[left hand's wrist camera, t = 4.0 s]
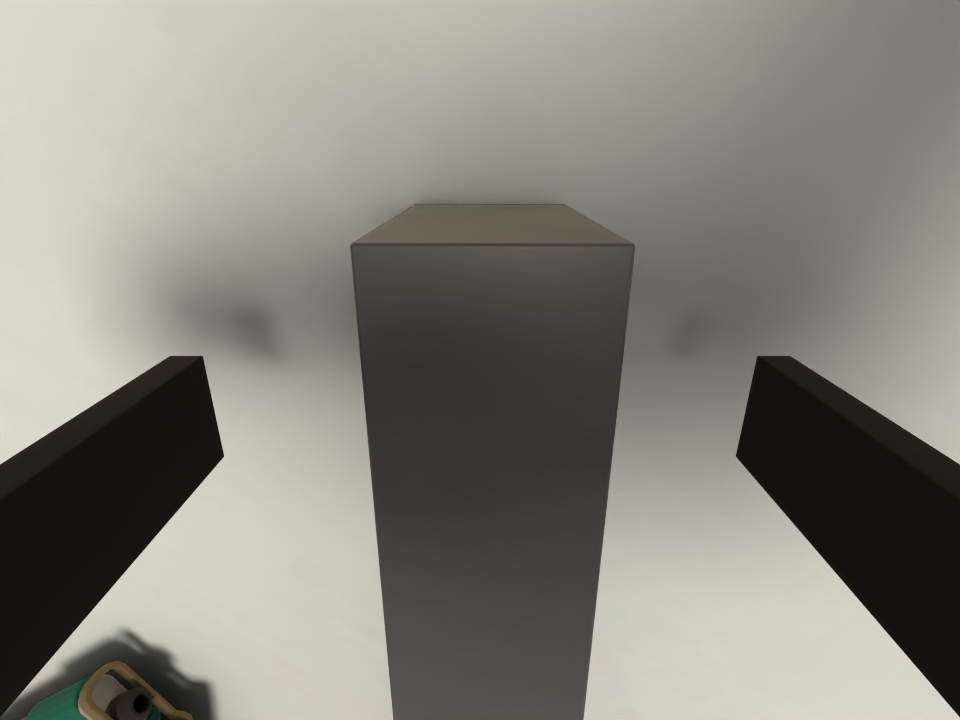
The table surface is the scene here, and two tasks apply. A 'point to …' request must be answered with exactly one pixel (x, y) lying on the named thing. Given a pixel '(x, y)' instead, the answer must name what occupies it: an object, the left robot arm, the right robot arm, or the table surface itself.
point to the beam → (490, 449)
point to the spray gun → (106, 699)
